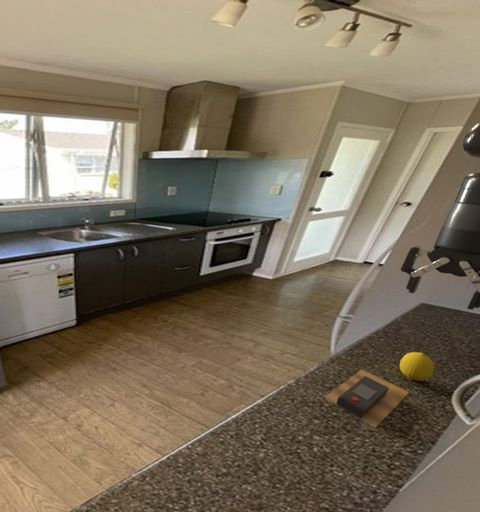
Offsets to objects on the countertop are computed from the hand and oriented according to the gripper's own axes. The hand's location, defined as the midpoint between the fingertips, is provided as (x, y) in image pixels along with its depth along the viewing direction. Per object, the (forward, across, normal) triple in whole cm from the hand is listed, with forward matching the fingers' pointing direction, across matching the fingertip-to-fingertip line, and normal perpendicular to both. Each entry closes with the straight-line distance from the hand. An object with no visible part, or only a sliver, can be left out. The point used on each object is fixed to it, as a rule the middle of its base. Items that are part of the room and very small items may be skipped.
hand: (439, 299), depth 62 cm
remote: (+24, -3, -13) cm, 27 cm away
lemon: (+24, 0, +7) cm, 25 cm away
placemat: (+24, -3, -10) cm, 26 cm away
